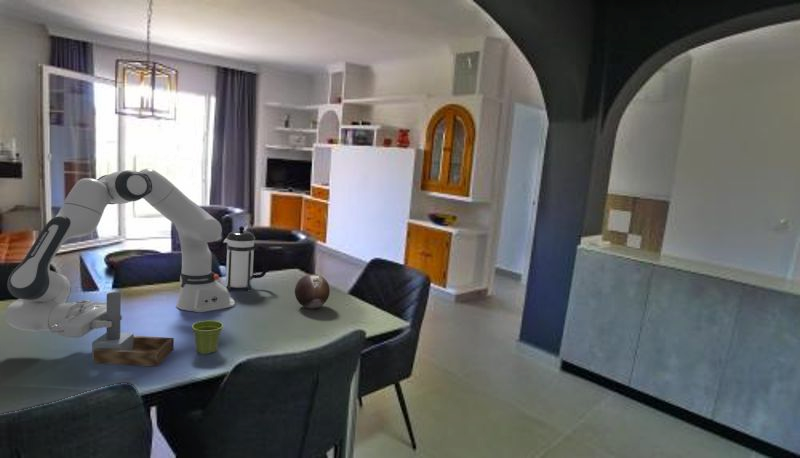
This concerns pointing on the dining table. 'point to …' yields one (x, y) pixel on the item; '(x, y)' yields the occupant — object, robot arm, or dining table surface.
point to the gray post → (114, 328)
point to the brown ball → (312, 291)
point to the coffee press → (242, 259)
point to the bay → (138, 352)
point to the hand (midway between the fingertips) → (116, 320)
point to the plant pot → (207, 335)
